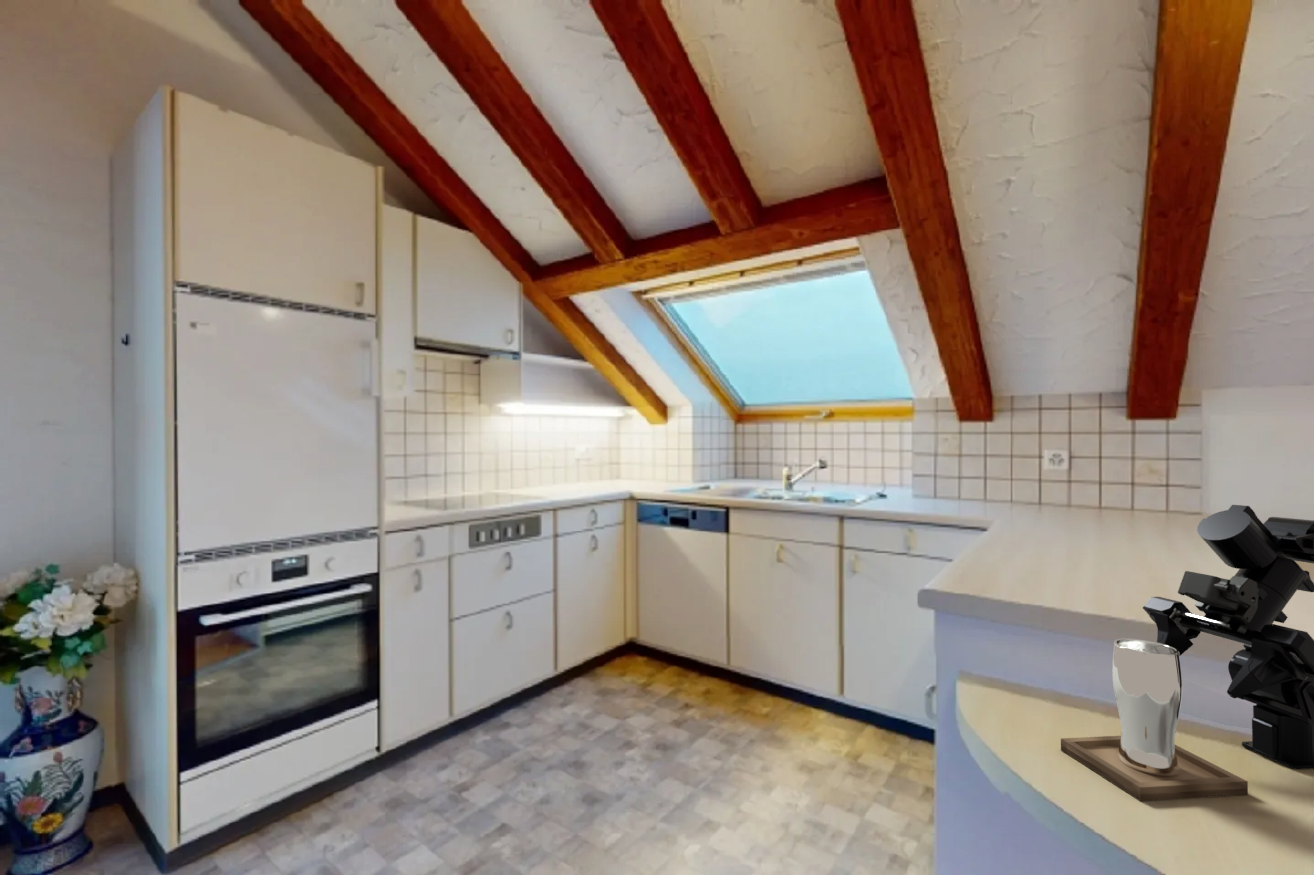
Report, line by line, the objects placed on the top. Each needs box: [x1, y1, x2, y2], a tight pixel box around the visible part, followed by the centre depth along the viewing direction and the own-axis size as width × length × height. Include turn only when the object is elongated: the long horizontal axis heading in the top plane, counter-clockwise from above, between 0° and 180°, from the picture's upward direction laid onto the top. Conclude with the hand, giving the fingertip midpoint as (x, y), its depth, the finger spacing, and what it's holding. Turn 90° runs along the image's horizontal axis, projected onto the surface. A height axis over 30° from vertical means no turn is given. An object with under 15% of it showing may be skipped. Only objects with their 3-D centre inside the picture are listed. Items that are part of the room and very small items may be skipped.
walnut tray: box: [1060, 735, 1249, 802], centre depth 76 cm, size 14×12×2 cm
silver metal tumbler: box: [1111, 637, 1183, 776], centre depth 77 cm, size 7×7×15 cm
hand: (1191, 681), depth 78 cm, fingers open, 9 cm apart
